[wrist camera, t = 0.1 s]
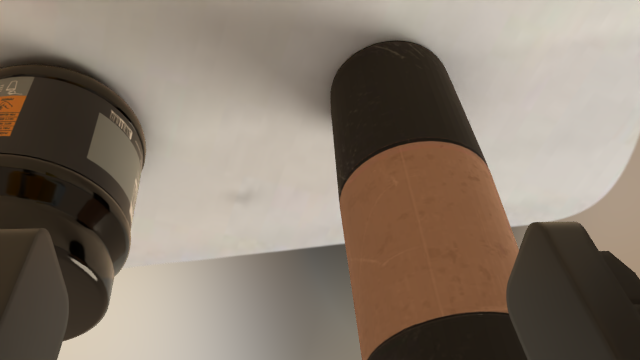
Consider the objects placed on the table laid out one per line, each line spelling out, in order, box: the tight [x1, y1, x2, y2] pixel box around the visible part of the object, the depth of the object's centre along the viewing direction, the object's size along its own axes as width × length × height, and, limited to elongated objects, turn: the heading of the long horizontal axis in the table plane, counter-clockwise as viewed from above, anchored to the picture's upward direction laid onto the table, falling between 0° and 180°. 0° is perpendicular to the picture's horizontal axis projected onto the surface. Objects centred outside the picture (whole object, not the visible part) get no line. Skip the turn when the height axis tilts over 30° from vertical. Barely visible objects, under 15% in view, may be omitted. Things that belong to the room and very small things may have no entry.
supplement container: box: [0, 64, 146, 341], centre depth 32 cm, size 10×10×12 cm
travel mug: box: [331, 41, 528, 360], centre depth 29 cm, size 8×8×20 cm
